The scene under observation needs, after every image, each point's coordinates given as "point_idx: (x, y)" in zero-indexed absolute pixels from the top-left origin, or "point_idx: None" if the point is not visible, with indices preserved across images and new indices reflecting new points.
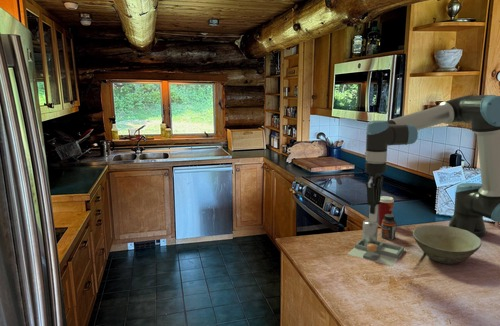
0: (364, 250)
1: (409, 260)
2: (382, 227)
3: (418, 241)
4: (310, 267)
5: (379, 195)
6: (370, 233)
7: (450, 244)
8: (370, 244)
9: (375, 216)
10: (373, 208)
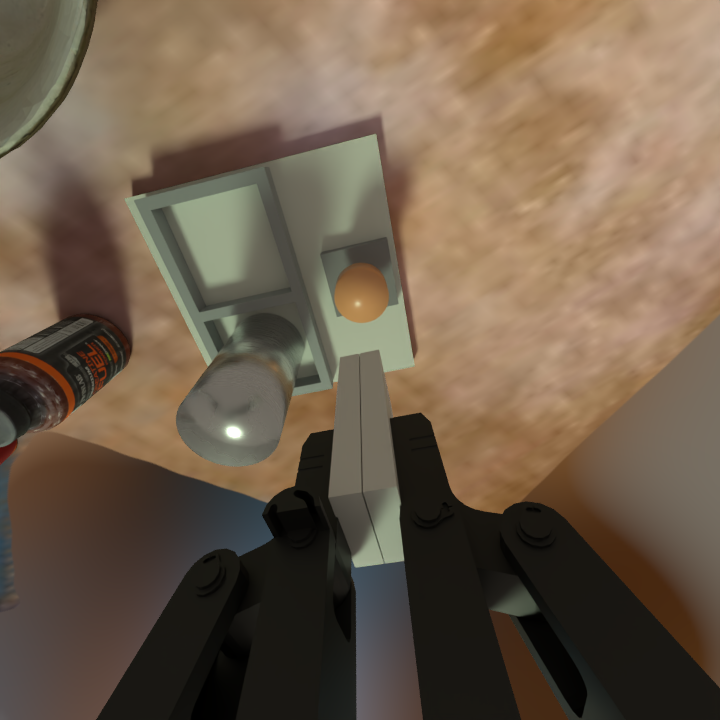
0: (322, 337)
1: (205, 115)
2: (89, 394)
3: (90, 12)
4: (595, 392)
5: (179, 712)
6: (279, 370)
7: None
8: (357, 309)
9: (384, 386)
10: (443, 473)
